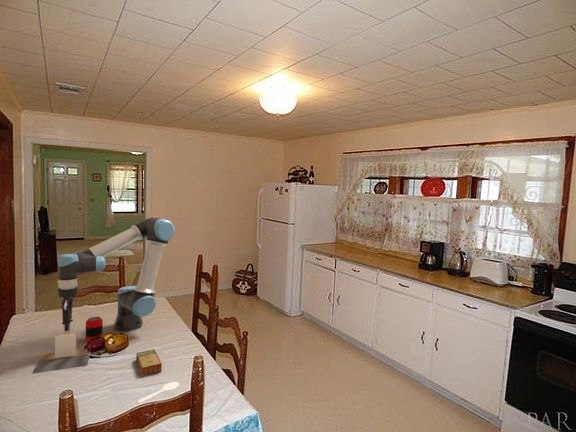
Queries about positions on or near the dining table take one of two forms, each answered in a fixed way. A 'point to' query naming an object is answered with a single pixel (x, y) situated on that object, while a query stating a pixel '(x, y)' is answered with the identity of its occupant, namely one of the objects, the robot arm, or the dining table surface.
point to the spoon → (165, 388)
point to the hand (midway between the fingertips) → (67, 336)
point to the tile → (65, 345)
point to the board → (61, 362)
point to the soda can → (93, 328)
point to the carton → (148, 362)
